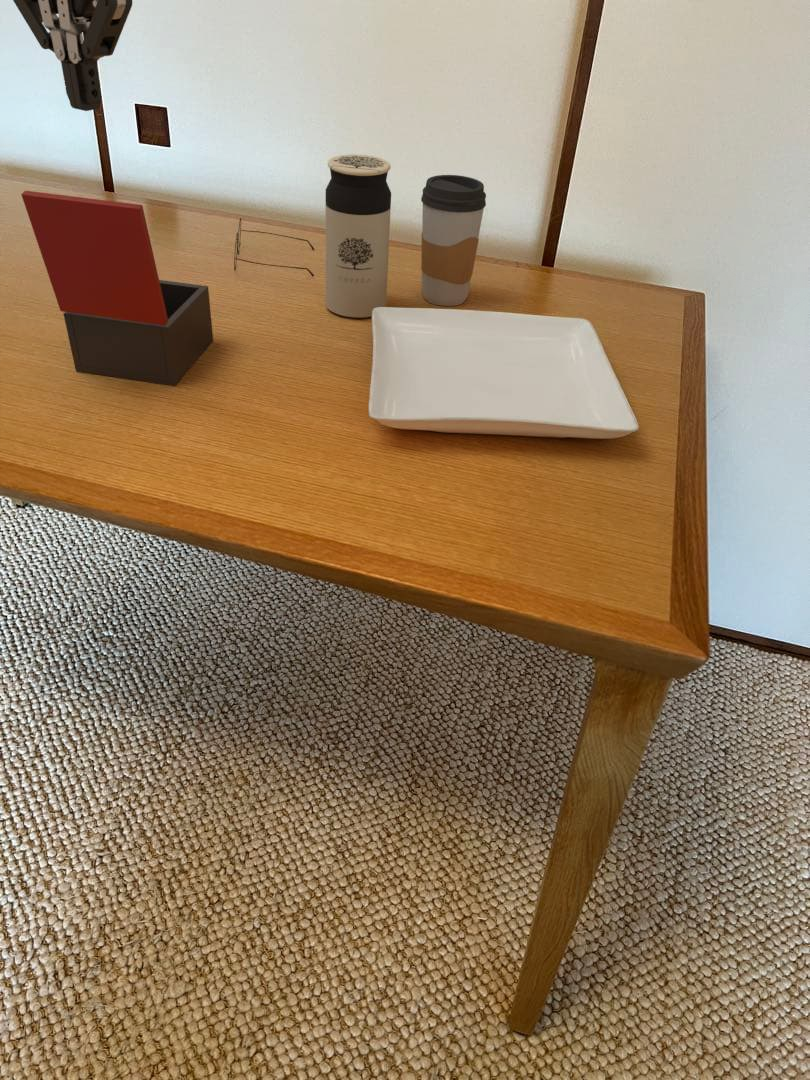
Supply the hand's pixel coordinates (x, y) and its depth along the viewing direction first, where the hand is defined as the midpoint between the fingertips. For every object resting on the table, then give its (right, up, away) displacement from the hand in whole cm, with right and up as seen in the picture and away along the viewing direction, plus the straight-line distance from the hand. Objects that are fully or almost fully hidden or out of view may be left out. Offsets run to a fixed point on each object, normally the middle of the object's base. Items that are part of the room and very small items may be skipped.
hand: (86, 108), depth 74 cm
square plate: (+38, -22, +19) cm, 48 cm away
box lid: (-1, -11, +7) cm, 13 cm away
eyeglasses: (+10, +1, +45) cm, 46 cm away
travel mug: (+22, -8, +34) cm, 42 cm away
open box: (-1, -18, +20) cm, 27 cm away
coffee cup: (+34, -6, +39) cm, 52 cm away
